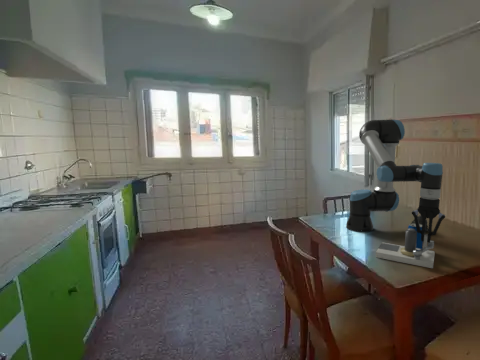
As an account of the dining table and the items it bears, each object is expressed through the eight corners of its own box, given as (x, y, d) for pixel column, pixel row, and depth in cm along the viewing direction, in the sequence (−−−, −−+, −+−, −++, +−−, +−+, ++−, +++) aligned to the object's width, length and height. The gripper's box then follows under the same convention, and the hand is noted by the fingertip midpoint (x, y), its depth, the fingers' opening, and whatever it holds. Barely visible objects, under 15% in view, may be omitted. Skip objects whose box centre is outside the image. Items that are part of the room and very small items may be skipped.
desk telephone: (375, 257, 134) (376, 248, 133) (381, 247, 146) (382, 239, 145) (432, 268, 121) (433, 258, 121) (434, 256, 133) (435, 247, 133)
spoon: (411, 254, 125) (411, 247, 125) (427, 246, 135) (428, 239, 134) (419, 256, 123) (420, 250, 122) (436, 248, 132) (436, 241, 131)
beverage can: (408, 245, 148) (409, 222, 146) (423, 248, 144) (424, 224, 142) (405, 249, 143) (407, 225, 141) (421, 252, 139) (422, 227, 137)
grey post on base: (398, 259, 130) (400, 230, 129) (401, 254, 137) (402, 225, 135) (418, 263, 126) (420, 233, 124) (420, 257, 132) (422, 228, 130)
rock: (433, 230, 162) (426, 213, 165) (414, 234, 164) (408, 217, 167) (426, 232, 173) (420, 215, 176) (409, 235, 175) (403, 219, 178)
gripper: (412, 197, 130) (407, 248, 133) (447, 201, 122) (441, 254, 126) (413, 194, 136) (409, 243, 139) (447, 198, 128) (442, 249, 132)
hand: (425, 248), depth 132 cm, fingers closed
